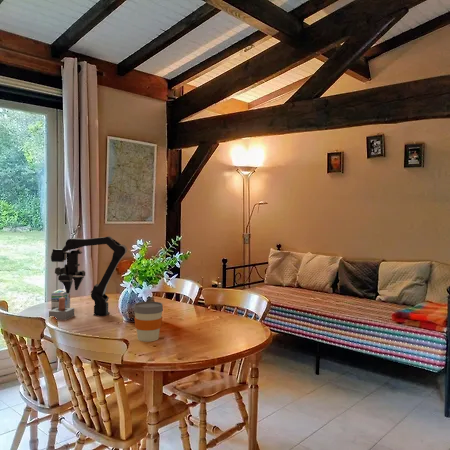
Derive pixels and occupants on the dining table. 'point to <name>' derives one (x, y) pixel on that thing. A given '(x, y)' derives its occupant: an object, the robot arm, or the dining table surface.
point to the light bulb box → (57, 295)
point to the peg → (61, 304)
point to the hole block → (62, 313)
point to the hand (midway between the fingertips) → (72, 291)
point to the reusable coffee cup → (148, 320)
